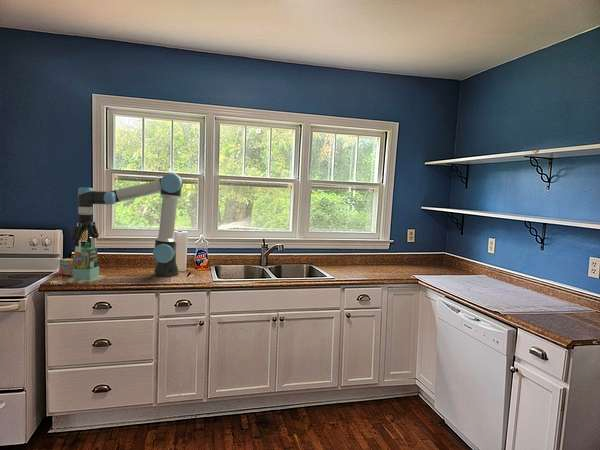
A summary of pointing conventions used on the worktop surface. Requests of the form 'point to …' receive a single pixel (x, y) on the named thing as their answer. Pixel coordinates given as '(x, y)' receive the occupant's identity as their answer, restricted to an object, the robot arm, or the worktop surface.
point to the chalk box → (86, 257)
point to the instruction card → (57, 282)
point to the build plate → (85, 280)
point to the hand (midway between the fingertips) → (86, 250)
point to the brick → (86, 273)
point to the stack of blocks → (67, 266)
